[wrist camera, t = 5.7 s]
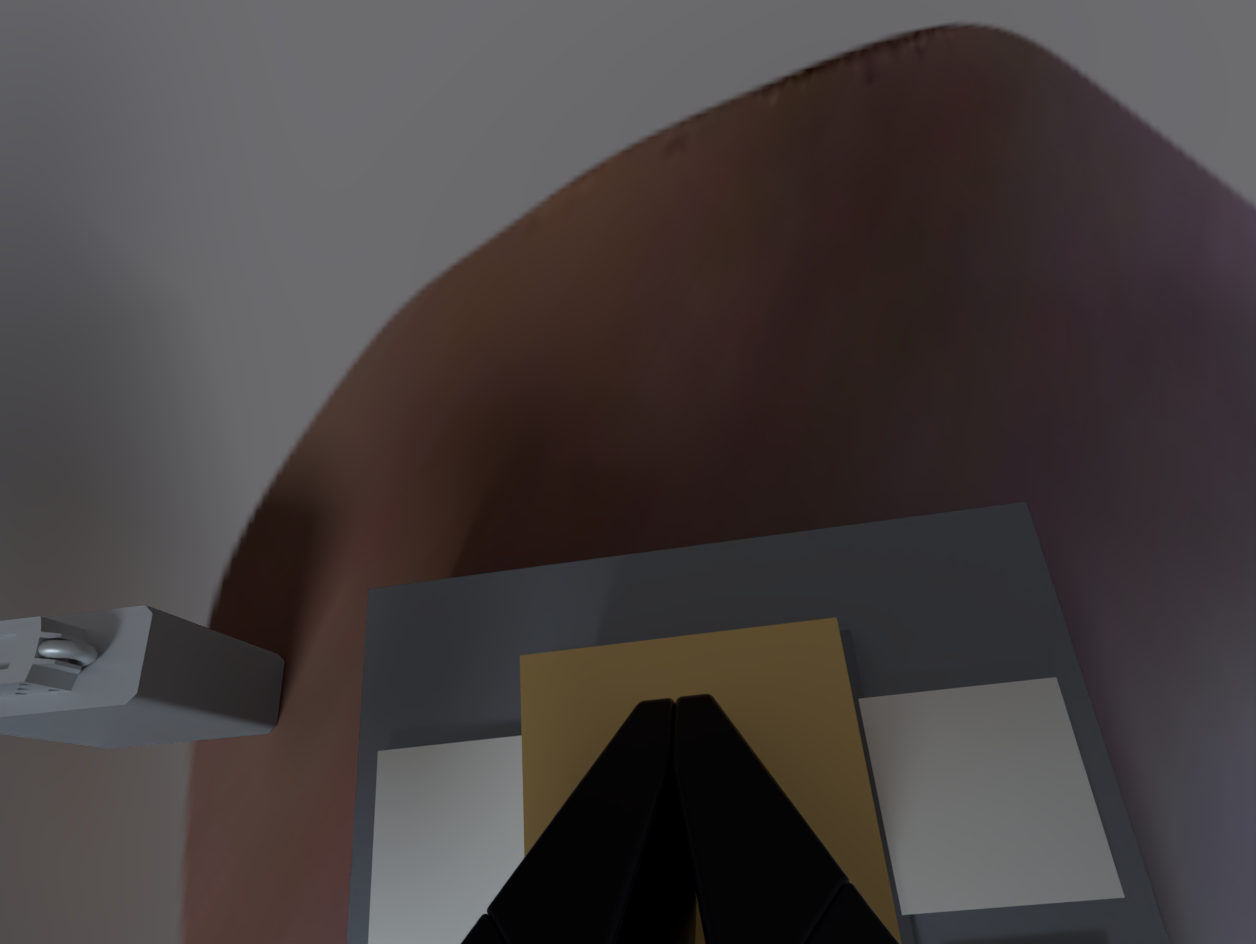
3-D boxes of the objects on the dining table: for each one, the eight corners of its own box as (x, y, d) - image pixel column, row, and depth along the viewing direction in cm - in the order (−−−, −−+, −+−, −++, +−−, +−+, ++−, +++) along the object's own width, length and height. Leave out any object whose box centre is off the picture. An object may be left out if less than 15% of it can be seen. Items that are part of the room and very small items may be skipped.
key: (879, 965, 10) (914, 1006, 8) (583, 986, 11) (528, 1031, 8) (822, 662, 12) (836, 617, 10) (569, 691, 13) (519, 655, 10)
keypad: (1163, 1175, 12) (1292, 1286, 9) (414, 1207, 13) (313, 1313, 10) (984, 556, 16) (1031, 495, 13) (429, 626, 18) (360, 584, 15)
